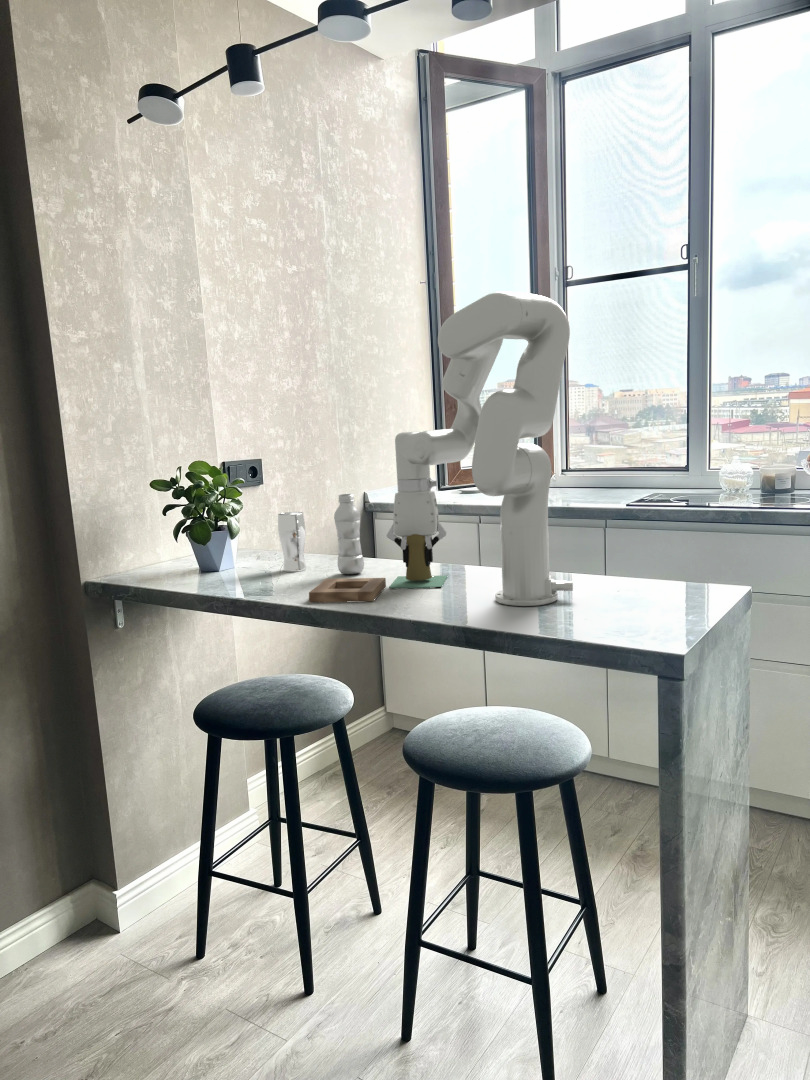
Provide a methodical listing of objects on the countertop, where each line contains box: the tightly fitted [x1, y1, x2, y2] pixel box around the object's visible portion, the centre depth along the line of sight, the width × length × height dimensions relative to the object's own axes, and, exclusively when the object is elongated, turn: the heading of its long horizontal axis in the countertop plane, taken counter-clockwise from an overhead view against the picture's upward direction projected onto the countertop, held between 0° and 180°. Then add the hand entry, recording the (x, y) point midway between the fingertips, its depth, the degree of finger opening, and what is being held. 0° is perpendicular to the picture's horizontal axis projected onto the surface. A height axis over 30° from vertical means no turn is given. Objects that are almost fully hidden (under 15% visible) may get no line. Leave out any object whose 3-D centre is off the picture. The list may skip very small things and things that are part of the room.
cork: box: [405, 534, 433, 580], centre depth 182 cm, size 6×6×11 cm
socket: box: [308, 577, 387, 603], centre depth 174 cm, size 14×14×2 cm
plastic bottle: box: [333, 493, 365, 575], centre depth 196 cm, size 6×7×20 cm
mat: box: [388, 574, 448, 589], centre depth 183 cm, size 12×12×1 cm
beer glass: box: [277, 511, 307, 573], centre depth 206 cm, size 7×7×15 cm
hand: (418, 564), depth 182 cm, fingers closed on cork, 4 cm apart
